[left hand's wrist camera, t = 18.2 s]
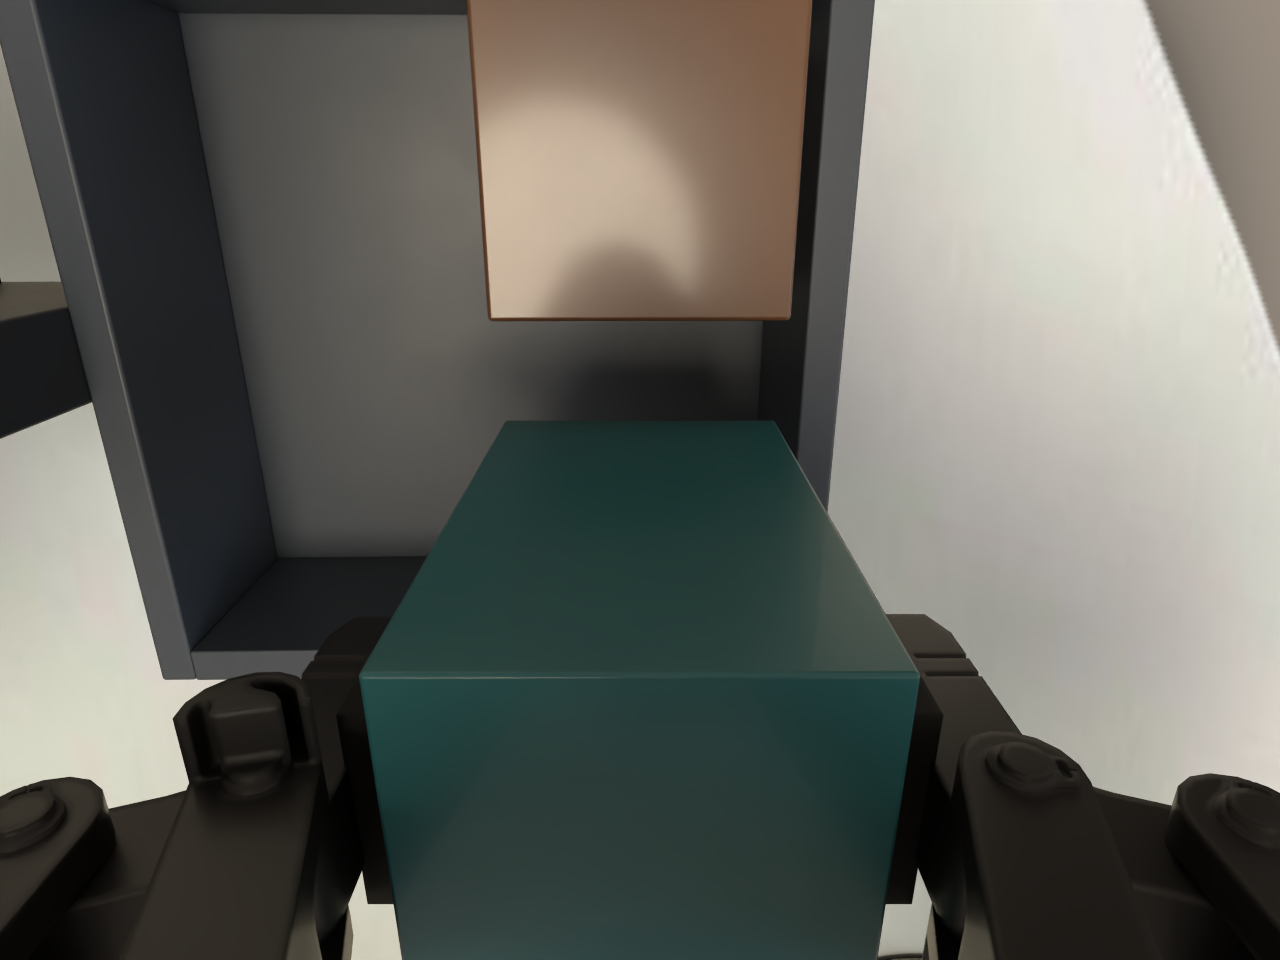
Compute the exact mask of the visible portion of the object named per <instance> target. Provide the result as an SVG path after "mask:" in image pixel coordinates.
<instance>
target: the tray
mask: <svg viewBox="0 0 1280 960" xmlns="http://www.w3.org/2000/svg"><path fill="white" fill-rule="evenodd" d="M874 3H875V0H812V12H811V27H810V41H809V56H808V70H807V85H806V100H805V114H804V129H803V144H802V158H801V173H800V187H799V202H798V217H797V231H796V246H795V261H794V275H793V290H792V305H791V316H790V318H789V319H788V320H786V321H491V320H489V318H488V312H487V297H486V283H485V268H484V253H483V239H482V224H481V209H480V194H479V180H478V165H477V150H476V136H475V121H474V106H473V92H472V77H471V62H470V48H469V33H468V18H467V4H466V0H0V44H1V48H2V52H3V56H4V60H5V63H6V67H7V71H8V75H9V79H10V83H11V87H12V91H13V95H14V98H15V102H16V106H17V110H18V114H19V118H20V122H21V126H22V130H23V134H24V137H25V141H26V145H27V149H28V153H29V157H30V161H31V165H32V169H33V173H34V176H35V180H36V184H37V188H38V192H39V196H40V200H41V204H42V208H43V212H44V215H45V219H46V223H47V227H48V231H49V235H50V239H51V243H52V247H53V251H54V254H55V258H56V262H57V266H58V270H59V274H60V278H61V282H1V283H2V284H0V439H1V438H3V437H6V436H8V435H11V434H13V433H16V432H18V431H21V430H23V429H26V428H28V427H31V426H33V425H36V424H38V423H41V422H43V421H46V420H48V419H51V418H53V417H56V416H58V415H61V414H63V413H66V412H69V411H71V410H74V409H76V408H79V407H81V406H84V405H86V404H89V403H91V402H92V403H93V406H94V410H95V414H96V418H97V422H98V426H99V430H100V434H101V438H102V442H103V445H104V449H105V453H106V457H107V461H108V465H109V469H110V473H111V477H112V480H113V484H114V488H115V492H116V496H117V500H118V504H119V508H120V512H121V516H122V519H123V523H124V527H125V531H126V535H127V539H128V543H129V547H130V551H131V555H132V558H133V562H134V566H135V570H136V574H137V578H138V582H139V586H140V590H141V594H142V597H143V601H144V605H145V609H146V613H147V617H148V621H149V625H150V629H151V633H152V636H153V640H154V644H155V648H156V652H157V656H158V660H159V664H160V668H161V671H162V675H163V678H164V679H165V680H181V679H196V678H197V679H198V680H220V679H230V678H234V677H238V676H242V675H247V674H251V673H255V672H282V673H287V674H291V675H295V676H298V677H299V678H302V673H303V672H304V670H305V669H306V668H307V666H308V665H309V663H310V662H311V661H314V656H315V655H316V653H317V652H318V650H319V649H320V647H321V646H322V644H323V643H324V642H325V640H326V639H327V637H328V636H329V635H330V634H331V633H333V632H334V631H336V630H337V629H338V628H340V627H341V626H343V625H344V624H346V623H347V622H349V621H350V620H351V619H353V618H354V617H393V615H394V613H395V611H396V610H397V608H398V606H399V605H400V603H401V601H402V599H403V598H404V596H405V594H406V592H407V591H408V589H409V587H410V585H411V584H412V582H413V580H414V579H415V577H416V575H417V573H418V572H419V570H420V568H421V566H422V565H423V563H424V561H425V559H426V558H427V556H428V554H429V552H430V551H431V549H432V547H433V546H434V544H435V542H436V540H437V539H438V537H439V535H440V533H441V532H442V530H443V528H444V526H445V525H446V523H447V521H448V520H449V518H450V516H451V514H452V513H453V511H454V509H455V507H456V506H457V504H458V502H459V500H460V499H461V497H462V495H463V493H464V492H465V490H466V489H467V487H468V485H469V483H470V482H471V480H472V478H473V476H474V475H475V473H476V471H477V470H478V468H479V466H480V464H481V463H482V461H483V459H484V457H485V456H486V454H487V452H488V450H489V449H490V447H491V445H492V444H493V442H494V440H495V438H496V437H497V435H498V433H499V431H500V430H501V428H502V426H503V425H504V423H505V421H774V422H775V423H776V425H777V427H778V429H779V430H780V432H781V434H782V436H783V437H784V439H785V441H786V443H787V444H788V446H789V448H790V450H791V451H792V453H793V455H794V456H795V458H796V460H797V462H798V463H799V465H800V467H801V469H802V470H803V472H804V474H805V476H806V477H807V479H808V481H809V483H810V484H811V486H812V488H813V489H814V491H815V493H816V494H817V496H818V498H819V500H820V501H821V503H822V505H823V506H824V508H825V510H826V512H827V511H828V500H829V489H830V478H831V468H832V457H833V446H834V435H835V424H836V414H837V403H838V392H839V381H840V370H841V360H842V349H843V338H844V327H845V316H846V306H847V295H848V284H849V273H850V262H851V252H852V241H853V230H854V219H855V208H856V198H857V187H858V176H859V165H860V154H861V144H862V133H863V122H864V111H865V100H866V90H867V79H868V68H869V57H870V46H871V36H872V25H873V14H874Z"/></svg>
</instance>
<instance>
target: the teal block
mask: <svg viewBox="0 0 1280 960" xmlns="http://www.w3.org/2000/svg"><path fill="white" fill-rule="evenodd" d="M359 680H360V686H361V693H362V700H363V706H364V713H365V719H366V726H367V732H368V739H369V745H370V752H371V759H372V765H373V772H374V778H375V785H376V791H377V798H378V804H379V811H380V818H381V824H382V831H383V837H384V844H385V850H386V857H387V863H388V870H389V877H390V883H391V890H392V896H393V903H394V909H395V916H396V922H397V929H398V936H399V942H400V949H401V955H402V960H877V957H878V950H879V944H880V937H881V931H882V924H883V918H884V911H885V904H886V898H887V891H888V885H889V878H890V872H891V865H892V858H893V852H894V845H895V839H896V832H897V826H898V819H899V812H900V806H901V799H902V793H903V786H904V780H905V773H906V766H907V760H908V753H909V747H910V740H911V734H912V727H913V720H914V714H915V707H916V701H917V694H918V688H919V681H920V674H919V672H918V670H917V668H916V667H915V665H914V663H913V661H912V660H911V658H910V656H909V654H908V653H907V651H906V649H905V647H904V646H903V644H902V642H901V640H900V639H899V637H898V635H897V634H896V632H895V630H894V628H893V627H892V625H891V623H890V621H889V620H888V618H887V616H886V614H885V613H884V611H883V609H882V608H881V606H880V604H879V602H878V601H877V599H876V597H875V595H874V594H873V592H872V590H871V588H870V587H869V585H868V583H867V581H866V580H865V578H864V576H863V575H862V573H861V571H860V569H859V568H858V566H857V564H856V562H855V561H854V559H853V557H852V555H851V554H850V552H849V550H848V548H847V547H846V545H845V543H844V542H843V540H842V538H841V536H840V535H839V533H838V531H837V529H836V528H835V526H834V524H833V522H832V521H831V519H830V517H829V515H828V514H827V512H826V510H825V509H824V507H823V505H822V503H821V502H820V500H819V498H818V496H817V495H816V493H815V491H814V489H813V488H812V486H811V484H810V483H809V481H808V479H807V477H806V476H805V474H804V472H803V470H802V469H801V467H800V465H799V463H798V462H797V460H796V458H795V456H794V455H793V453H792V451H791V450H790V448H789V446H788V444H787V443H786V441H785V439H784V437H783V436H782V434H781V432H780V430H779V429H778V427H777V425H776V423H775V422H774V421H505V423H504V425H503V426H502V428H501V430H500V431H499V433H498V435H497V437H496V438H495V440H494V442H493V444H492V445H491V447H490V449H489V450H488V452H487V454H486V456H485V457H484V459H483V461H482V463H481V464H480V466H479V468H478V470H477V471H476V473H475V475H474V476H473V478H472V480H471V482H470V483H469V485H468V487H467V489H466V490H465V492H464V494H463V495H462V497H461V499H460V501H459V502H458V504H457V506H456V508H455V509H454V511H453V513H452V515H451V516H450V518H449V520H448V521H447V523H446V525H445V527H444V528H443V530H442V532H441V534H440V535H439V537H438V539H437V540H436V542H435V544H434V546H433V547H432V549H431V551H430V553H429V554H428V556H427V558H426V560H425V561H424V563H423V565H422V566H421V568H420V570H419V572H418V573H417V575H416V577H415V579H414V580H413V582H412V584H411V585H410V587H409V589H408V591H407V592H406V594H405V596H404V598H403V599H402V601H401V603H400V605H399V606H398V608H397V610H396V611H395V613H394V615H393V617H392V618H391V620H390V622H389V624H388V625H387V627H386V629H385V630H384V632H383V634H382V636H381V637H380V639H379V641H378V643H377V644H376V646H375V648H374V650H373V651H372V653H371V655H370V656H369V658H368V660H367V662H366V663H365V665H364V667H363V669H362V670H361V672H360V675H359Z"/></svg>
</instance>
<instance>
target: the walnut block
mask: <svg viewBox="0 0 1280 960" xmlns="http://www.w3.org/2000/svg"><path fill="white" fill-rule="evenodd" d="M466 4H467V18H468V33H469V48H470V62H471V77H472V92H473V106H474V121H475V136H476V150H477V165H478V180H479V194H480V209H481V224H482V239H483V253H484V268H485V283H486V297H487V312H488V318H489V320H491V321H786V320H788V319H789V318H790V316H791V305H792V290H793V275H794V261H795V246H796V231H797V217H798V202H799V187H800V173H801V158H802V144H803V129H804V114H805V100H806V85H807V70H808V56H809V41H810V27H811V12H812V0H466Z"/></svg>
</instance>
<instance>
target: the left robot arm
mask: <svg viewBox="0 0 1280 960" xmlns="http://www.w3.org/2000/svg"><path fill="white" fill-rule="evenodd" d="M463 494H464V493H463ZM816 495H817V494H816ZM459 501H460V500H459ZM820 502H821V501H820ZM823 507H824V506H823ZM455 508H456V507H455ZM824 509H825V508H824ZM827 514H828V513H827ZM451 515H452V514H451ZM831 521H832V520H831ZM444 527H445V526H444ZM835 528H836V527H835ZM440 534H441V533H440ZM839 535H840V534H839ZM842 540H843V539H842ZM843 542H844V541H843ZM846 547H847V546H846ZM429 553H430V552H429ZM850 554H851V553H850ZM425 560H426V559H425ZM854 561H855V560H854ZM858 568H859V567H858ZM861 573H862V572H861ZM862 575H863V574H862ZM865 580H866V579H865ZM869 587H870V586H869ZM873 594H874V593H873ZM876 599H877V598H876ZM877 601H878V600H877ZM880 606H881V605H880ZM881 608H882V607H881ZM884 613H885V612H884ZM886 616H887V618H888V620H889V621H890V623H891V625H892V627H893V628H894V630H895V632H896V634H897V635H898V637H899V639H900V640H901V642H902V644H903V646H904V647H905V649H906V651H907V653H908V654H909V656H910V658H911V660H912V661H913V663H914V665H915V667H916V668H917V670H918V672H919V674H920V681H919V688H918V694H917V701H916V707H915V714H914V720H913V727H912V734H911V740H910V747H909V753H908V760H907V766H906V773H905V780H904V786H903V793H902V799H901V806H900V812H899V819H898V826H897V832H896V839H895V845H894V852H893V858H892V865H891V872H890V878H889V885H888V891H887V898H886V904H912V899H913V893H914V887H915V882H916V876H917V870H918V869H919V871H920V874H921V876H922V879H923V881H924V884H925V886H926V888H927V891H928V893H929V896H930V898H931V901H932V906H931V911H930V917H929V922H928V928H927V933H926V939H925V945H924V950H923V956H922V958H902V959H891V960H1280V793H1279V792H1277V791H1275V790H1273V789H1271V788H1269V787H1266V786H1264V785H1261V784H1258V783H1256V782H1255V783H1254V782H1251V781H1249V780H1245V779H1242V778H1239V777H1233V776H1226V775H1218V774H1211V773H1210V774H1204V775H1197V776H1190V777H1189V778H1187V779H1186V780H1185V781H1184V782H1183V783H1181V784H1180V785H1179V786H1178V788H1177V791H1176V794H1175V798H1174V801H1173V804H1172V806H1171V805H1166V804H1162V803H1157V802H1153V801H1148V800H1143V799H1139V798H1134V797H1130V796H1125V795H1121V794H1116V793H1112V792H1109V791H1105V790H1102V789H1098V788H1095V787H1093V786H1092V783H1091V781H1090V780H1089V778H1088V777H1087V776H1086V774H1085V773H1084V771H1083V770H1082V768H1081V767H1080V765H1079V764H1077V763H1076V762H1075V761H1074V760H1072V759H1071V758H1070V757H1069V756H1067V755H1066V754H1065V753H1064V752H1062V751H1061V750H1060V749H1057V748H1055V747H1053V746H1051V745H1049V744H1047V743H1045V742H1043V741H1041V740H1039V739H1037V738H1033V737H1029V736H1025V735H1022V734H1021V732H1020V731H1019V729H1018V728H1017V726H1016V725H1015V724H1014V722H1013V721H1012V719H1011V718H1010V716H1009V715H1008V714H1007V712H1006V711H1005V709H1004V708H1003V706H1002V705H1001V704H1000V702H999V701H998V699H997V698H996V696H995V695H994V694H993V692H992V691H991V689H990V688H989V686H988V685H987V684H986V682H985V681H984V679H983V678H982V676H978V671H977V669H976V668H975V666H974V665H973V664H972V662H971V661H970V659H969V658H966V654H965V652H964V651H963V649H962V648H961V646H960V645H959V644H958V642H957V641H956V639H955V638H954V636H953V635H952V634H951V632H949V631H948V630H946V629H945V628H943V627H942V626H941V625H939V624H938V623H936V622H935V621H933V620H932V619H931V618H929V617H928V616H926V615H925V614H886ZM391 618H392V617H354V618H353V619H351V620H350V621H349V622H347V623H346V624H344V625H343V626H341V627H340V628H338V629H337V630H336V631H334V632H333V633H331V634H330V635H329V636H328V637H327V639H326V640H325V642H324V643H323V644H322V646H321V647H320V649H319V650H318V652H317V653H316V655H315V656H314V661H311V662H310V663H309V665H308V666H307V668H306V669H305V670H304V672H303V673H302V678H301V679H300V678H299V677H298V676H295V675H291V674H287V673H282V672H255V673H251V674H247V675H242V676H238V677H234V678H230V679H227V680H225V681H223V682H220V683H218V684H216V685H213V686H211V687H209V688H206V689H204V690H203V691H202V692H200V693H199V694H197V695H196V696H194V697H193V698H191V699H190V700H189V701H187V702H186V703H185V704H184V705H183V706H182V707H181V709H180V710H179V711H178V712H177V714H176V715H175V716H174V718H173V722H174V726H175V730H176V733H177V737H178V741H179V745H180V749H181V753H182V757H183V760H184V764H185V768H186V772H187V776H188V780H189V785H188V787H187V790H186V791H182V792H179V793H175V794H172V795H168V796H165V797H160V798H156V799H151V800H147V801H142V802H138V803H133V804H129V805H124V806H120V807H115V808H111V809H108V806H107V803H106V800H105V797H104V793H103V790H102V789H101V788H100V787H99V786H97V785H96V784H95V783H94V782H93V781H91V780H87V779H81V778H74V777H65V778H58V779H50V780H43V781H40V782H37V783H33V784H29V785H28V786H23V787H21V788H18V789H15V790H13V791H11V792H9V793H7V794H5V795H3V796H1V797H0V960H351V953H352V943H353V930H352V923H351V917H350V911H349V906H348V903H349V901H350V898H351V896H352V894H353V891H354V889H355V886H356V884H357V881H358V879H359V876H360V874H361V871H362V873H363V879H364V885H365V890H366V896H367V902H368V904H394V903H393V896H392V890H391V883H390V877H389V870H388V863H387V857H386V850H385V844H384V837H383V831H382V824H381V818H380V811H379V804H378V798H377V791H376V785H375V778H374V772H373V765H372V759H371V752H370V745H369V739H368V732H367V726H366V719H365V713H364V706H363V700H362V693H361V686H360V680H359V675H360V672H361V670H362V669H363V667H364V665H365V663H366V662H367V660H368V658H369V656H370V655H371V653H372V651H373V650H374V648H375V646H376V644H377V643H378V641H379V639H380V637H381V636H382V634H383V632H384V630H385V629H386V627H387V625H388V624H389V622H390V620H391Z"/></svg>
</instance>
